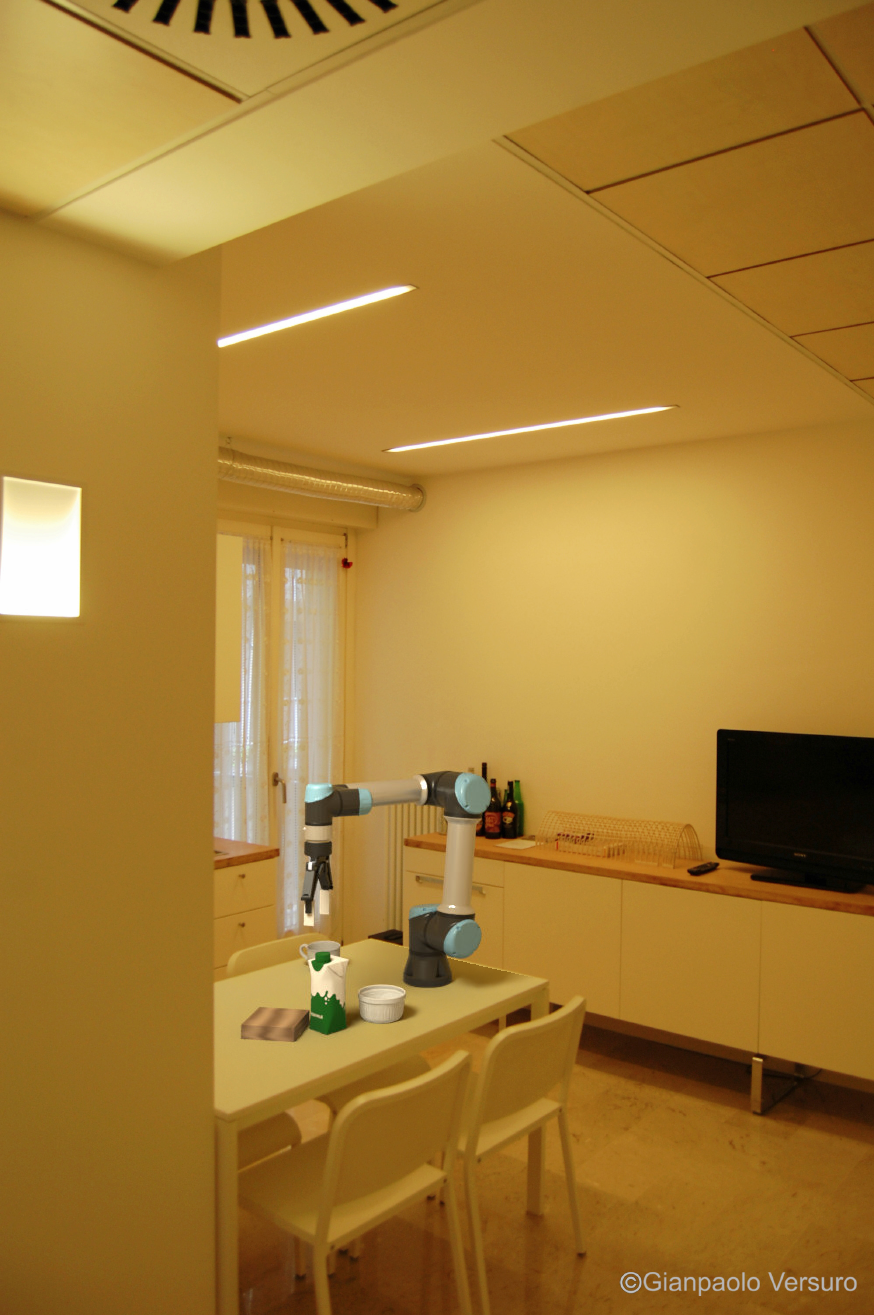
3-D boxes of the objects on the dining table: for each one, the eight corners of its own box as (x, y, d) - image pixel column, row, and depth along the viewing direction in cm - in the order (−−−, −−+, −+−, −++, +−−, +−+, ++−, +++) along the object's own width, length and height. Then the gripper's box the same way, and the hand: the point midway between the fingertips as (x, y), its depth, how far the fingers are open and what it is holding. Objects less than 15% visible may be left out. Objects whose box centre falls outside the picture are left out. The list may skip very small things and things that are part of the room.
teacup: (347, 968, 307) (347, 943, 308) (325, 977, 298) (326, 951, 298) (313, 962, 315) (313, 937, 315) (291, 970, 305) (291, 944, 306)
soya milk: (304, 1029, 252) (304, 952, 253) (330, 1020, 259) (330, 945, 259) (326, 1037, 246) (327, 958, 247) (352, 1028, 253) (352, 951, 254)
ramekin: (414, 1014, 264) (415, 989, 264) (388, 1029, 252) (388, 1002, 253) (375, 1006, 271) (375, 981, 271) (347, 1020, 259) (347, 994, 259)
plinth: (309, 1025, 256) (309, 1010, 256) (293, 1044, 242) (294, 1028, 243) (259, 1022, 258) (259, 1007, 259) (240, 1040, 245) (241, 1024, 245)
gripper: (319, 833, 272) (317, 909, 272) (289, 846, 248) (288, 929, 247) (344, 834, 271) (343, 910, 270) (317, 848, 247) (316, 931, 246)
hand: (317, 919), depth 259 cm, fingers open, 13 cm apart
